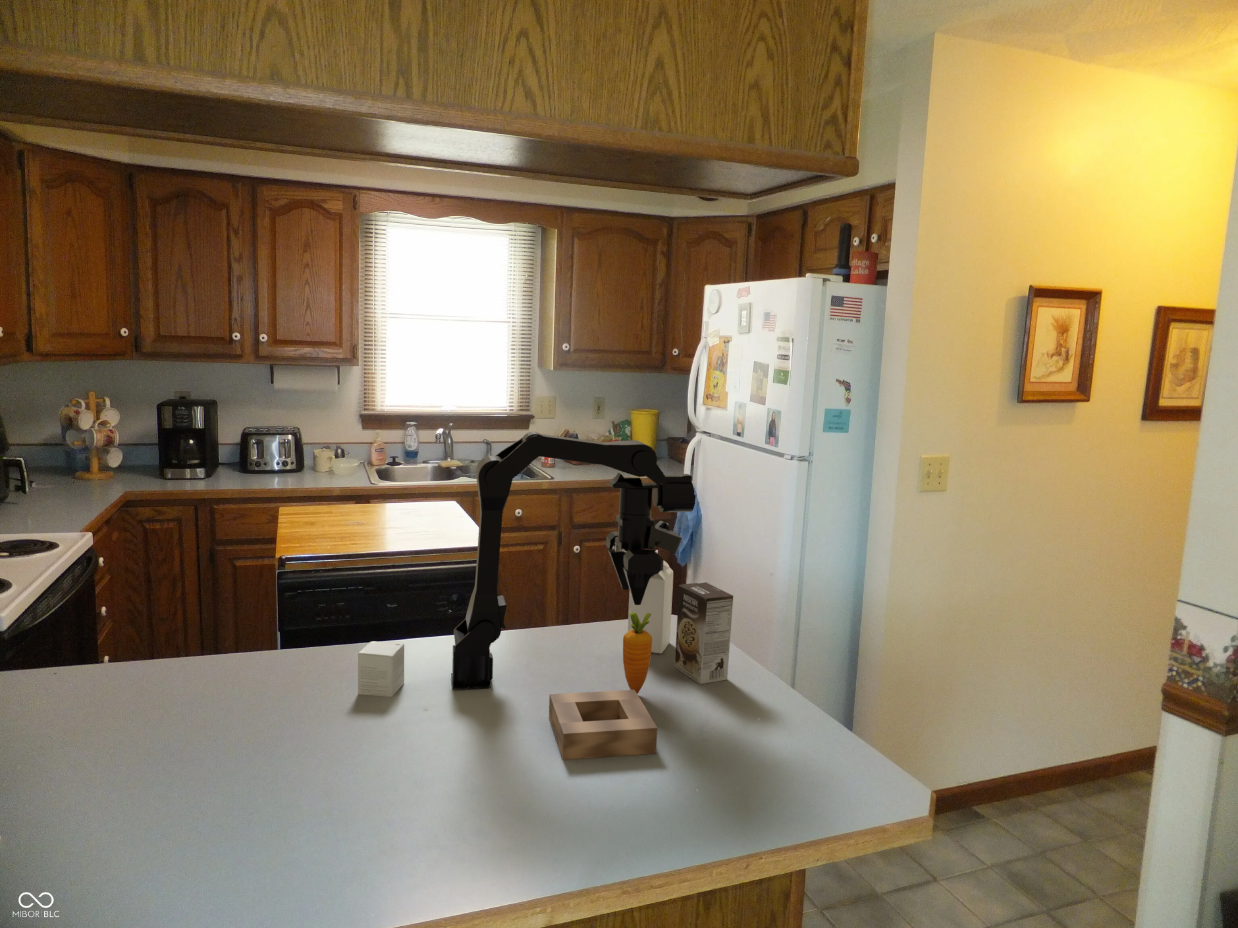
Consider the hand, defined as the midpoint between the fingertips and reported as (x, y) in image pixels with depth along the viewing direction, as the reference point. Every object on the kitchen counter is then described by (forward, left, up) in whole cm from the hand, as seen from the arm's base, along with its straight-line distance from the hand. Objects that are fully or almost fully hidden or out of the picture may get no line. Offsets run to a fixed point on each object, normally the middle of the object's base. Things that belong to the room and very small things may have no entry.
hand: (631, 596), depth 154 cm
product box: (-43, -1, -15) cm, 46 cm away
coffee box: (+14, -1, -15) cm, 20 cm away
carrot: (-1, -9, -15) cm, 17 cm away
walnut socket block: (-10, -23, -15) cm, 29 cm away
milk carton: (+8, +14, -15) cm, 22 cm away
